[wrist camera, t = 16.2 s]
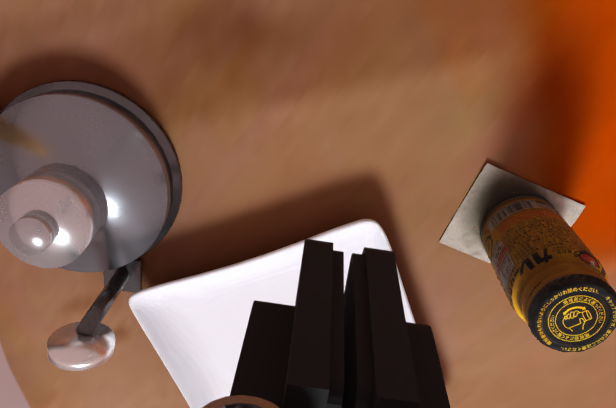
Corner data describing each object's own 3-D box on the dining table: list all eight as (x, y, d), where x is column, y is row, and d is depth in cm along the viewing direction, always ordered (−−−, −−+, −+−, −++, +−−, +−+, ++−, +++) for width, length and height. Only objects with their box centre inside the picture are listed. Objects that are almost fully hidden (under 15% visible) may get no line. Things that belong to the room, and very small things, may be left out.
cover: (9, 212, 44) (-35, 247, 38) (44, 146, 41) (2, 173, 36) (85, 256, 45) (52, 296, 40) (123, 195, 43) (93, 228, 37)
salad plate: (450, 400, 52) (457, 429, 49) (236, 454, 56) (230, 484, 53) (376, 197, 45) (379, 215, 42) (135, 275, 49) (121, 298, 46)
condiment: (532, 280, 47) (591, 381, 36) (438, 241, 46) (470, 332, 35) (584, 204, 44) (667, 289, 33) (486, 161, 43) (537, 233, 32)
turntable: (-79, 172, 45) (-139, 204, 39) (-8, 18, 40) (-65, 29, 34) (119, 290, 48) (91, 335, 42) (207, 162, 43) (188, 193, 38)
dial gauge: (98, 252, 47) (33, 332, 37) (151, 259, 47) (100, 341, 37) (98, 283, 49) (35, 369, 39) (150, 290, 49) (101, 378, 39)
